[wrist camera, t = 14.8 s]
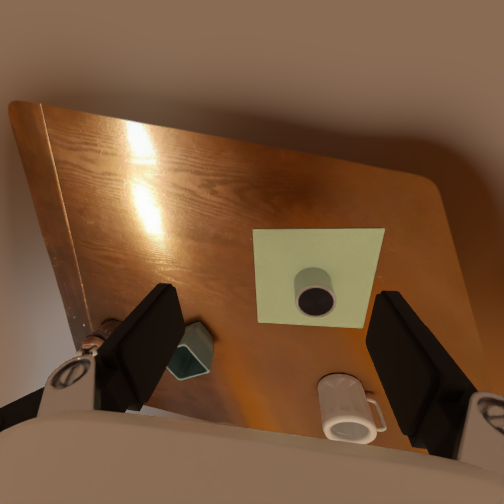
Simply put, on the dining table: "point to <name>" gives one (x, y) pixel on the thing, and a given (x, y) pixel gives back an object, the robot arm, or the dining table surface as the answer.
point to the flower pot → (192, 353)
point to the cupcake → (97, 338)
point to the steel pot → (314, 293)
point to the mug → (347, 410)
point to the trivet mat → (315, 256)
